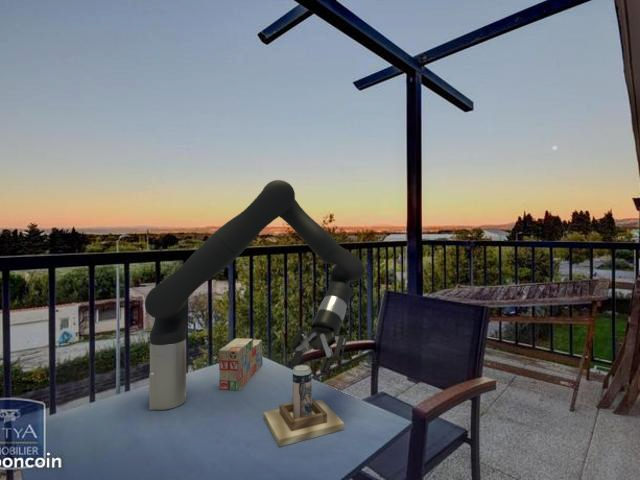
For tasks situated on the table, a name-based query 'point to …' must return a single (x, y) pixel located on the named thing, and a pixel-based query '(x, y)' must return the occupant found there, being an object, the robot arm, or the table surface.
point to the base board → (302, 423)
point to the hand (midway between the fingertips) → (308, 370)
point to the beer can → (302, 391)
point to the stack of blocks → (239, 362)
